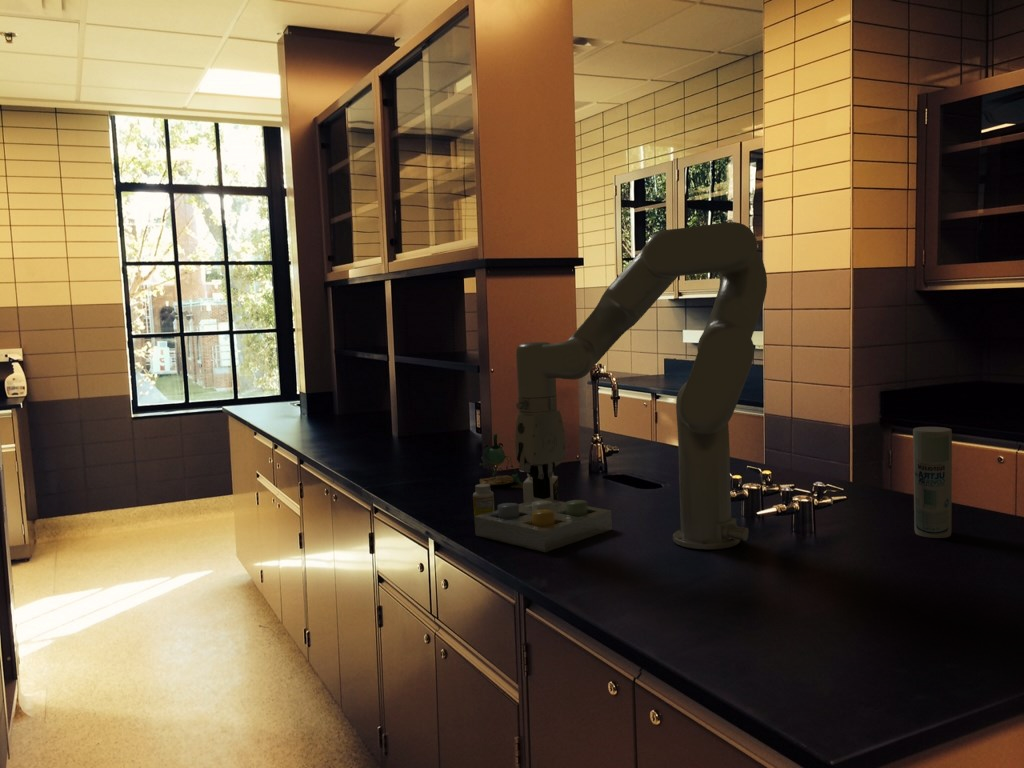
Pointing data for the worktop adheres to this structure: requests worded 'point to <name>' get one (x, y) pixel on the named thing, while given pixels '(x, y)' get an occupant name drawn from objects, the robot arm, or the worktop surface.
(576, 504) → the sage button
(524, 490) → the medicine bottle
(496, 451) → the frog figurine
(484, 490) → the supplement bottle
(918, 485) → the spray can
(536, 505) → the ivory button
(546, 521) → the amber rounded lump
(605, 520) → the panel
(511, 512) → the slate button
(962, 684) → the worktop surface
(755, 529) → the worktop surface
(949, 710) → the worktop surface
